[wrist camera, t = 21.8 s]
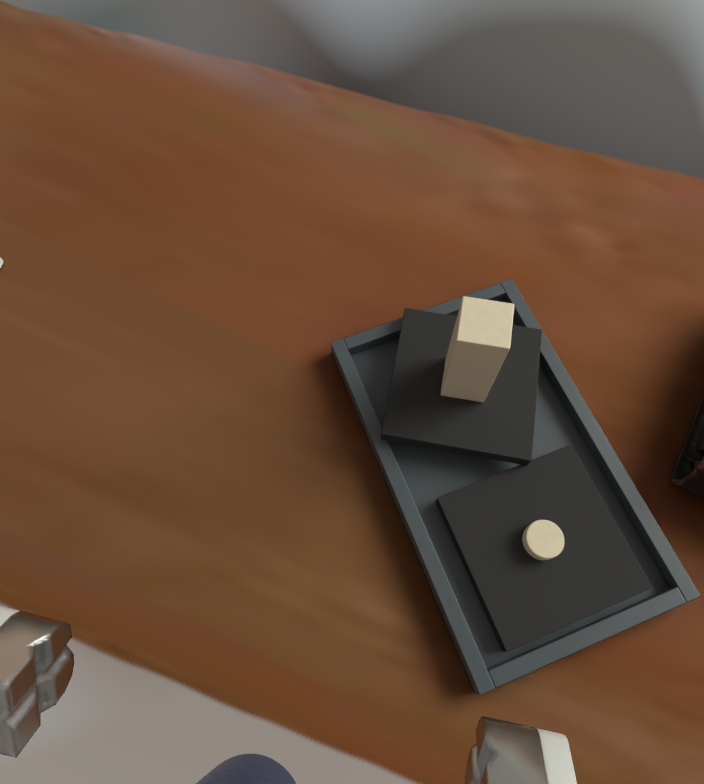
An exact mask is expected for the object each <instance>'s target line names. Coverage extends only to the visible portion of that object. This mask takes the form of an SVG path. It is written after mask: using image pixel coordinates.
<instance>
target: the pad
mask: <svg viewBox="0 0 704 784" xmlns="http://www.w3.org/2000/svg"><path fill="white" fill-rule="evenodd" d="M435 502H436V505H437V507H438V509H439V511H440V513H441V516H442V518H443V520H444V522H445V525H446V527H447V529H448V531H449V533H450V536H451V538H452V540H453V542H454V545H455V547H456V549H457V551H458V553H459V556H460V558H461V560H462V562H463V565H464V567H465V569H466V571H467V573H468V576H469V578H470V580H471V582H472V585H473V587H474V589H475V591H476V593H477V596H478V598H479V600H480V602H481V605H482V607H483V609H484V611H485V614H486V616H487V618H488V620H489V622H490V625H491V627H492V629H493V631H494V634H495V636H496V638H497V640H498V642H499V645H500V647H501V649H502V651H505V652H508V651H510V650H512V649H515V648H517V647H519V646H521V645H524V644H526V643H528V642H531V641H533V640H535V639H537V638H540V637H542V636H544V635H546V634H549V633H551V632H553V631H556V630H558V629H560V628H562V627H565V626H567V625H569V624H571V623H574V622H576V621H578V620H581V619H583V618H585V617H587V616H590V615H592V614H594V613H596V612H599V611H601V610H603V609H606V608H608V607H610V606H612V605H615V604H617V603H619V602H621V601H624V600H626V599H628V598H631V597H633V596H635V595H637V594H640V593H642V592H644V591H646V590H649V589H651V588H652V587H651V585H650V583H649V582H648V580H647V578H646V576H645V575H644V573H643V571H642V569H641V568H640V566H639V564H638V562H637V560H636V559H635V557H634V555H633V553H632V552H631V550H630V548H629V546H628V545H627V543H626V541H625V539H624V538H623V536H622V534H621V532H620V530H619V529H618V527H617V525H616V523H615V522H614V520H613V518H612V516H611V515H610V513H609V511H608V509H607V508H606V506H605V504H604V502H603V501H602V499H601V497H600V495H599V493H598V492H597V490H596V488H595V486H594V485H593V483H592V481H591V479H590V478H589V476H588V474H587V472H586V471H585V469H584V467H583V465H582V464H581V462H580V460H579V458H578V456H577V455H576V453H575V451H574V449H573V448H572V446H571V445H568V446H566V447H563V448H561V449H558V450H556V451H553V452H551V453H548V454H545V455H543V456H540V457H538V458H535V459H533V460H531V462H530V463H529V464H528V465H527V466H526V465H518V466H515V467H513V468H510V469H508V470H505V471H503V472H500V473H498V474H495V475H493V476H490V477H488V478H485V479H483V480H480V481H478V482H475V483H473V484H470V485H468V486H465V487H463V488H460V489H458V490H455V491H453V492H450V493H447V494H445V495H442V496H440V497H438V498H437V499H436V501H435Z"/></svg>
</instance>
